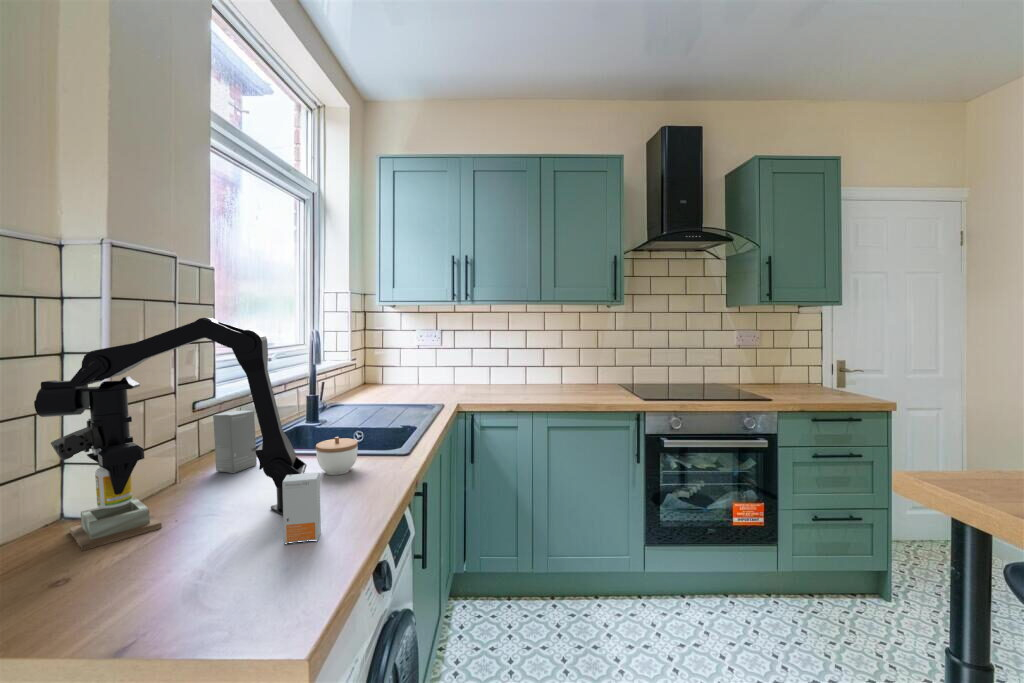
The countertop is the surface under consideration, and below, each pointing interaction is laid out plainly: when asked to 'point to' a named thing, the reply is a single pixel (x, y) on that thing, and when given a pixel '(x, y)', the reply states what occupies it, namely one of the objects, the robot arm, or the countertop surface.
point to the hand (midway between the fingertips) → (114, 490)
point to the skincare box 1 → (234, 441)
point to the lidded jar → (337, 455)
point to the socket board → (113, 524)
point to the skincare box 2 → (301, 507)
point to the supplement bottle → (110, 491)
